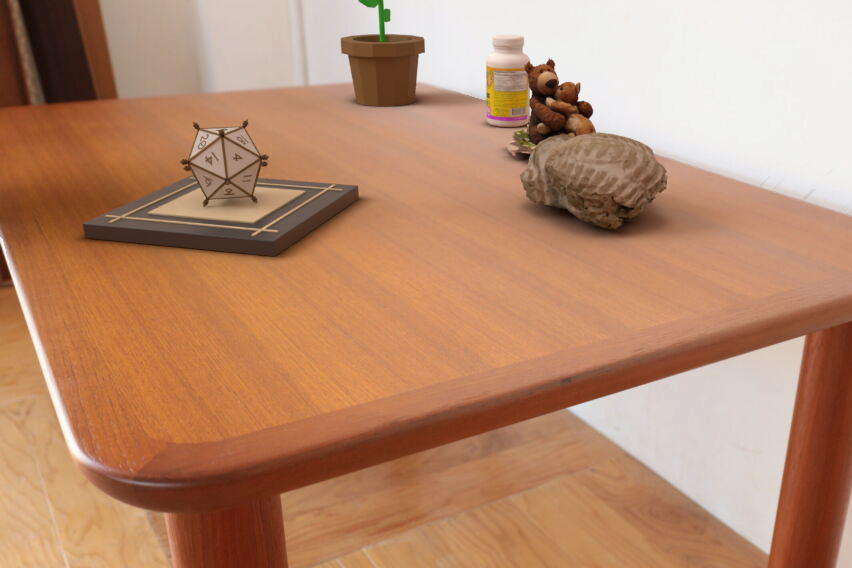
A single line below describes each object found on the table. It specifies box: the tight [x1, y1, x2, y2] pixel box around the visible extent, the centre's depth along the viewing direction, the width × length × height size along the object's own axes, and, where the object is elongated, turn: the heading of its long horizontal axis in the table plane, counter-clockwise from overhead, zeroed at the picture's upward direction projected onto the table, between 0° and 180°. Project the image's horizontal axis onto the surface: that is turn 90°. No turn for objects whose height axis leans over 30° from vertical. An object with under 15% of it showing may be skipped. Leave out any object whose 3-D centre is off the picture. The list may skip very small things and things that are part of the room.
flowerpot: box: [340, 0, 426, 107], centre depth 148 cm, size 14×14×30 cm
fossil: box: [519, 132, 669, 231], centre depth 94 cm, size 18×13×10 cm
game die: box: [179, 119, 270, 207], centre depth 90 cm, size 9×8×10 cm
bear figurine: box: [505, 57, 597, 157], centre depth 116 cm, size 14×15×12 cm
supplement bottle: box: [485, 34, 531, 128], centre depth 135 cm, size 7×7×13 cm
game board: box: [82, 174, 360, 257], centre depth 93 cm, size 20×20×2 cm
